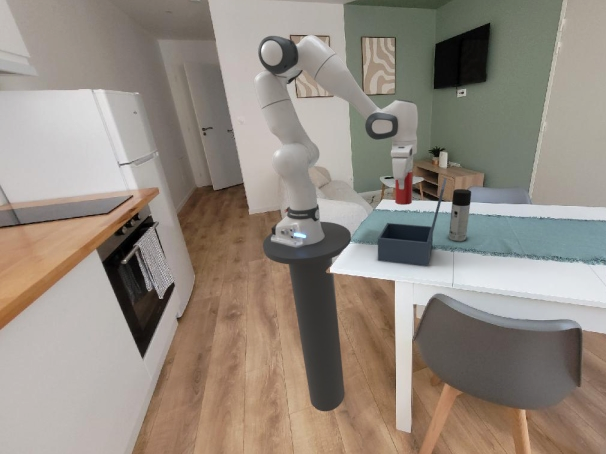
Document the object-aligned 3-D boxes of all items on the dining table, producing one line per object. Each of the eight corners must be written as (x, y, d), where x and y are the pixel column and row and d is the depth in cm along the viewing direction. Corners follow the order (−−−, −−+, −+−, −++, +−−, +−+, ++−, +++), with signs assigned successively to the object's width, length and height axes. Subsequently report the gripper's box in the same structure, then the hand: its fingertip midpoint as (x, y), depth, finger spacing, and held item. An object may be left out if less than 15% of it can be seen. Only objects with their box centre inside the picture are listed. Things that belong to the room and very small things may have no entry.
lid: (441, 188, 88) (444, 189, 87) (444, 177, 100) (446, 178, 100) (427, 241, 96) (430, 242, 95) (432, 225, 108) (434, 225, 108)
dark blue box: (378, 260, 104) (377, 238, 101) (387, 243, 117) (387, 222, 114) (427, 266, 99) (429, 243, 96) (431, 247, 112) (433, 226, 108)
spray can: (450, 234, 122) (454, 188, 115) (467, 236, 120) (472, 189, 112) (447, 240, 117) (451, 192, 109) (465, 243, 114) (470, 194, 106)
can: (393, 204, 110) (393, 172, 105) (397, 199, 116) (397, 168, 111) (410, 205, 108) (411, 172, 103) (413, 200, 114) (414, 168, 109)
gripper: (401, 144, 114) (400, 179, 119) (389, 152, 96) (389, 193, 102) (417, 144, 112) (416, 179, 117) (408, 153, 94) (407, 193, 100)
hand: (403, 186), depth 109 cm, fingers closed on can, 6 cm apart
